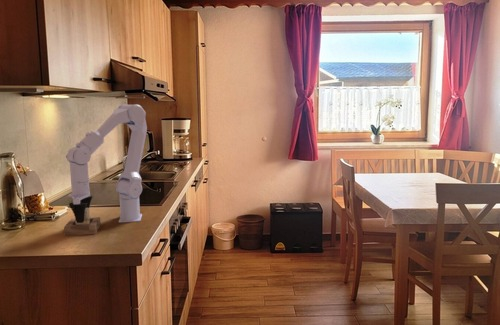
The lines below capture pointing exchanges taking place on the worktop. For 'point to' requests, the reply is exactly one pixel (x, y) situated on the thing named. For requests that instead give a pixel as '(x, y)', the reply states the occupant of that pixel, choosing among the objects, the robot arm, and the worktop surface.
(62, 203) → the worktop surface
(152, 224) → the worktop surface
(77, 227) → the walnut holder
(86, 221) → the birch post
